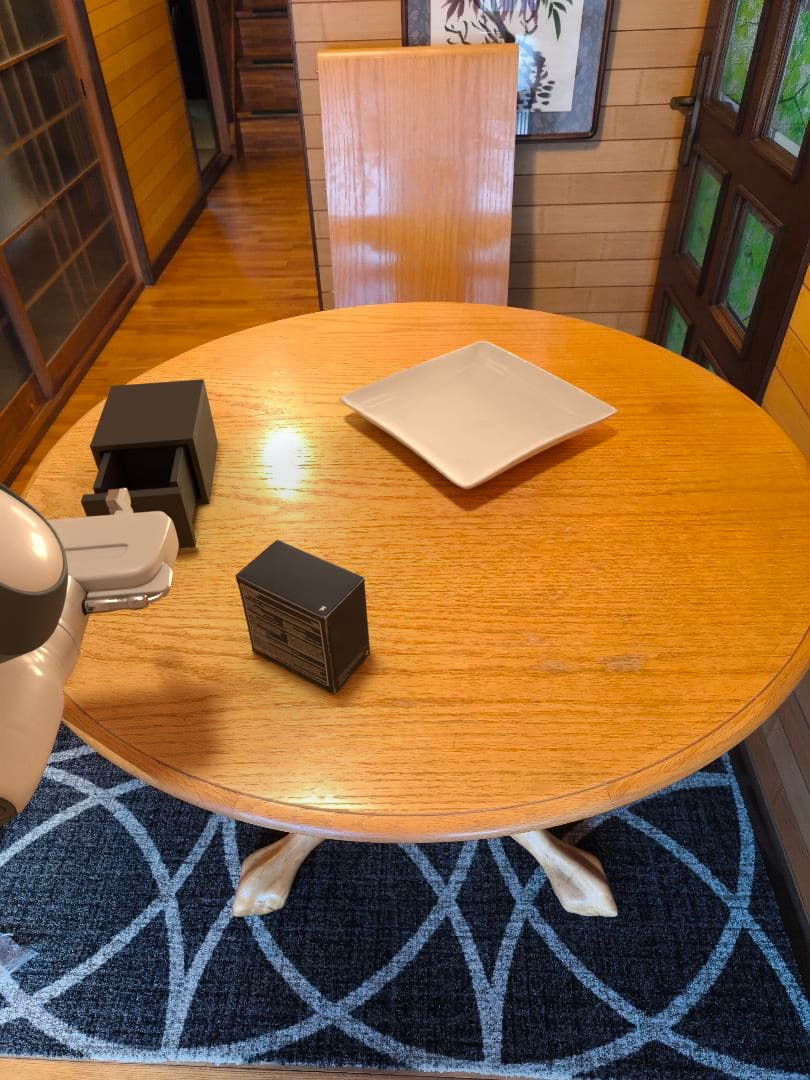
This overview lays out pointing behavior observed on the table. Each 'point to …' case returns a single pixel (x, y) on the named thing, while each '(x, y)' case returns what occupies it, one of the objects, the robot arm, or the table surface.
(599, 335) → the table surface
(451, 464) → the square plate
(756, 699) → the table surface
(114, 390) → the cabinet
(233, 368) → the table surface
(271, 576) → the small box
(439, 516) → the table surface
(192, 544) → the drawer
